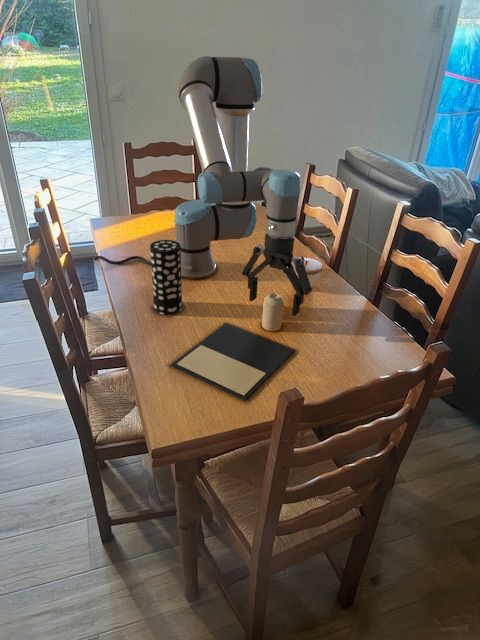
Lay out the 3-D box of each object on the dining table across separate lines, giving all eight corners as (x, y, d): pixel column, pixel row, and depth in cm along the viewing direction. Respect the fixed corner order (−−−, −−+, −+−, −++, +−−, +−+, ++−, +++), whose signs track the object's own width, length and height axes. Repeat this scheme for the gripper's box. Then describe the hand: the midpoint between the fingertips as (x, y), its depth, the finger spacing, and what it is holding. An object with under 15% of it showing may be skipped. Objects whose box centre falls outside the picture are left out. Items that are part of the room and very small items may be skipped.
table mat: (170, 365, 116) (170, 364, 116) (225, 324, 134) (225, 322, 133) (245, 401, 106) (245, 399, 106) (294, 351, 124) (294, 349, 123)
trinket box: (318, 295, 150) (322, 269, 145) (285, 290, 152) (287, 264, 147) (320, 280, 159) (323, 255, 154) (288, 276, 161) (291, 251, 156)
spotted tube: (186, 304, 142) (185, 242, 131) (174, 317, 135) (172, 253, 125) (162, 298, 144) (158, 237, 134) (148, 311, 138) (144, 248, 127)
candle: (260, 321, 136) (263, 290, 130) (279, 320, 136) (282, 290, 131) (263, 331, 131) (265, 300, 126) (282, 331, 132) (285, 300, 126)
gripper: (231, 227, 122) (229, 298, 133) (318, 250, 110) (308, 326, 121) (246, 219, 127) (243, 288, 138) (331, 241, 116) (320, 314, 127)
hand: (273, 306), depth 130 cm, fingers open, 13 cm apart
